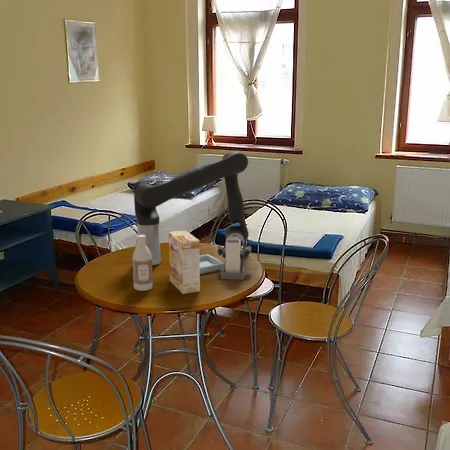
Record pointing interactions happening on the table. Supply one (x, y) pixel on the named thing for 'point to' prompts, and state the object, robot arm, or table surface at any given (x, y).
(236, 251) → the box
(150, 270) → the bath foam
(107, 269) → the table surface
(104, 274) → the table surface
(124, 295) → the table surface
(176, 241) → the coffeecake box
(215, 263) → the tray
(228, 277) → the dock
